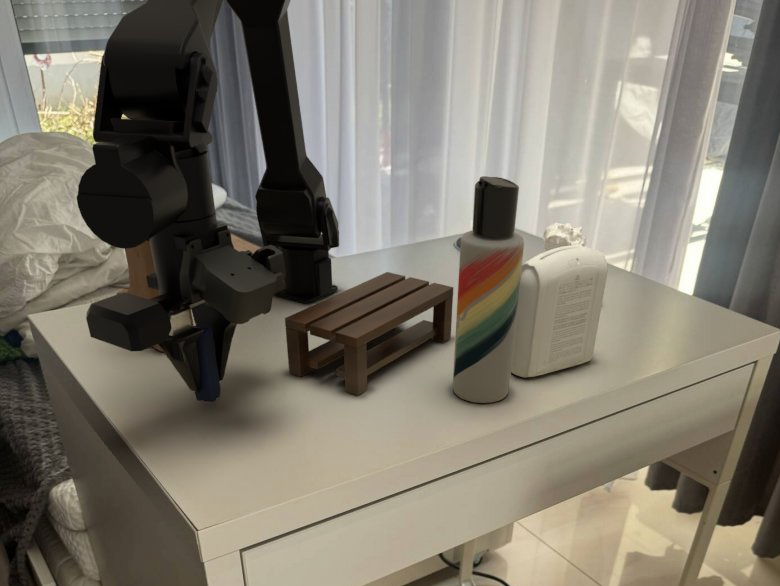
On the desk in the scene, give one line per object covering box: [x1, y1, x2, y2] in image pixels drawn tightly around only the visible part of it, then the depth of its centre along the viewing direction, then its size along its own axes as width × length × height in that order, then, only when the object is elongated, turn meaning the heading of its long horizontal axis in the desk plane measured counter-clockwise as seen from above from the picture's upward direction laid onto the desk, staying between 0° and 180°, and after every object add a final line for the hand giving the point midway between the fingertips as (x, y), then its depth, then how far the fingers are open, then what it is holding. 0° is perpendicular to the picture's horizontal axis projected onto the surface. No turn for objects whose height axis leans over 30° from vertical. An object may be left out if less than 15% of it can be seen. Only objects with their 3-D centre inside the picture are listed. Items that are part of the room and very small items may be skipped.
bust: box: [542, 221, 587, 252], centre depth 94 cm, size 12×8×11 cm
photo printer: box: [511, 245, 609, 378], centre depth 80 cm, size 10×4×12 cm, turn 123°
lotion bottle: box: [452, 175, 525, 404], centre depth 72 cm, size 6×6×20 cm
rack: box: [284, 271, 454, 396], centre depth 83 cm, size 9×18×6 cm, turn 146°
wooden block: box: [116, 241, 194, 353], centre depth 83 cm, size 9×4×18 cm, turn 43°
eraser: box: [193, 325, 222, 403], centre depth 72 cm, size 2×2×7 cm
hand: (206, 385), depth 73 cm, fingers closed on eraser, 2 cm apart
